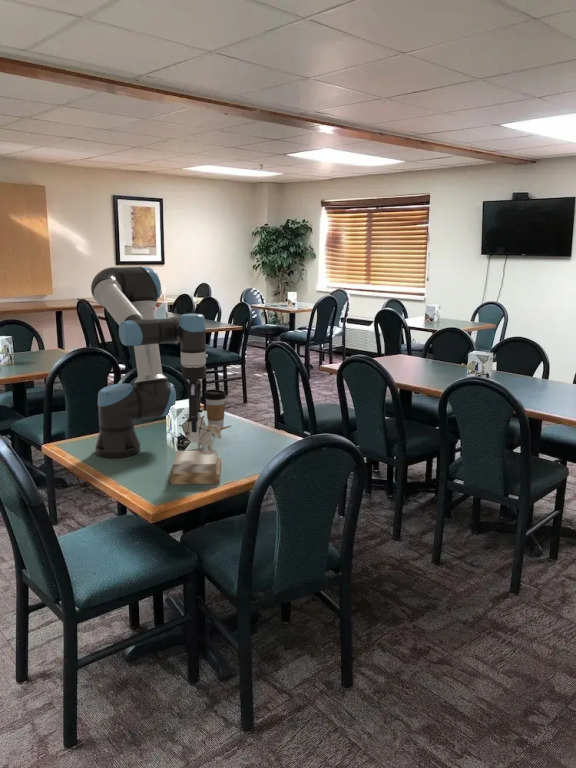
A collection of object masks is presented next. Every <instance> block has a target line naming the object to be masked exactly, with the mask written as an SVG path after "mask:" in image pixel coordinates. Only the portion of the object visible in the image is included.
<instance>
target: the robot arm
mask: <svg viewBox="0 0 576 768" xmlns="http://www.w3.org/2000/svg"><path fill="white" fill-rule="evenodd" d="M90 291H91V295H92V297H93V299H94V300H95V301H96V303H97V304H99V305H100V306H103V307H104V308H105V310H107V312H108V313H109V314H110V316H111V317H112V318H113V320H114V322H115V323H116V324H117V325H118V326H119V327H118V337H119V339H120V342H121V344H122V345H123V346H125V347H127V346H128V347H132V346H133V350H134V355H135V364H136V372H137V378H136V379H135V380H134V386H133V385H132V384H131V383H129V382H128V383H127V382H126V383H125V382H123V383H115V384H110V385H107V386H105V387H103V388H101V389H100V390H99V391H98V394H97V408H98V411H97V412H98V423H99V424H98V425H99V434H98V437H97V441H96V443H95V454H96V456H98V457H101V458H105V459H106V458H107V459H119V458H127V457H130V456H134V455H137V454H139V452H140V451H141V443H140V440H139V438H138V436H137V433H136V431H135V421H139V420H146V419H147V420H148V419H154V418H162V417H165V416H169V415H168V413H169V410H170V407H171V406H173V405H175V406H176V402H177V400H176V399H177V393H176V389H175V386H174V384H173V383H171V382H169V381H168V377H167V376H166V375H164V374H163V367H162V361H161V354H160V345H159V344H171V343H180V365H181V369H180V371H181V373H180V374H181V376H180V377H181V378H182V379H183V380H185V381H186V380H187V381H189V383H187V385H186V386H187V389H186V390H187V399H188V417H189V419H188V418H187V419H186V421H187V422H190V439H189V443H198V442H199V421H198V417H202V415H201V414H202V413H203V411H204V410H203V409H202V406H201V394H202V392H201V389H202V382H201V380H204V379H206V378H207V366H206V364H207V359H206V358H208V357H209V356H208V354H206V352H207V351H206V348H207V347H206V346H207V345H206V344H207V343H206V341H207V340H206V339H207V338H206V333H207V332H206V329H207V327H206V318H205V316H204V314H201V313H183V314H181V315H180V316H171V317H168V318H160V319H159V318H158V319H156V318H155V317H156V315H155V310H154V308H155V306H157V303H158V299H160V298H161V295H162V292H161V291H162V283H161V279H160V276H159V274H158V273H157V272H156V271H155V269H154V268H152V267H146V266H124V267H121V266H120V267H118V266H116V267H115V266H113V267H106V268H104V269H102V270H101V271H99V272H98V273H97V274H96V275H95V276H94V277H93V279H92V281H91V285H90Z"/></svg>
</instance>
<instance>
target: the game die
mask: <svg viewBox="0 0 576 768" xmlns="http://www.w3.org/2000/svg"><path fill="white" fill-rule="evenodd" d="M204 418H205V415H201V417H198V421H199V439H200V438H201V437H202V436H203V435H204V434H205V433H206V432H207V431H210V430H208V429H207V425H206V422H205V420H204ZM187 419H189V416H188V418H187ZM178 426H179V427H181V428H182V431H183V433H184V436H185V439H184V440H185V441H187V440H190V422H187V420H185V421H184V423H182V424H179V425H178ZM199 442H200V441H199Z"/></svg>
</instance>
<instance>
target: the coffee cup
mask: <svg viewBox="0 0 576 768" xmlns="http://www.w3.org/2000/svg"><path fill="white" fill-rule="evenodd" d="M226 398H227V395H226V391H225V390H221V389H213V388H210V389H206V390H205V393H204V399H205V408H206V409H205V410H206V416H207V417H206V418H207V426H208V425H219V426H218V427H219V428H223V427H224V425H225V424H224V421H225V410H226Z"/></svg>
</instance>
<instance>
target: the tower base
mask: <svg viewBox="0 0 576 768" xmlns="http://www.w3.org/2000/svg"><path fill="white" fill-rule="evenodd" d="M218 452H219V450H218V449H215V450H214V449H212V450H208V449H207V450H206V449H205V450H203V449H202V450H200V451H198V450H177V451H176V454H175V457H174V460H173V463H172V466H171V469H170V473H169V485H170V484H173V485H172V486H174V484H175V485H212V484H213V485H215V484H216V485H217V484H218V485H219V484H220V482H221V474H222V457H219V453H218Z"/></svg>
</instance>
